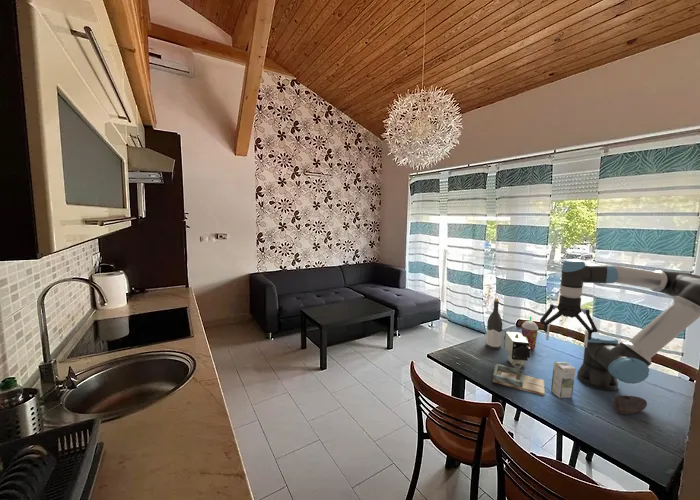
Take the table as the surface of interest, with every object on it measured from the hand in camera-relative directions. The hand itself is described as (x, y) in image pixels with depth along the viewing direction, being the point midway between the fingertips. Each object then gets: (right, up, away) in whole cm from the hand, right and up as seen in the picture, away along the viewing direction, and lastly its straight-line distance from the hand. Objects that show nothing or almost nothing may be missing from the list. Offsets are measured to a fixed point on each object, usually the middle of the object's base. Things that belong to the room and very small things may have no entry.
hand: (565, 342), depth 131 cm
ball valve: (-6, -21, +28) cm, 36 cm away
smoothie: (+12, -19, +47) cm, 52 cm away
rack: (-14, -23, +13) cm, 30 cm away
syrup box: (0, -25, +3) cm, 25 cm away
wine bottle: (-8, -18, +50) cm, 54 cm away
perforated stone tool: (+20, -26, -8) cm, 34 cm away
